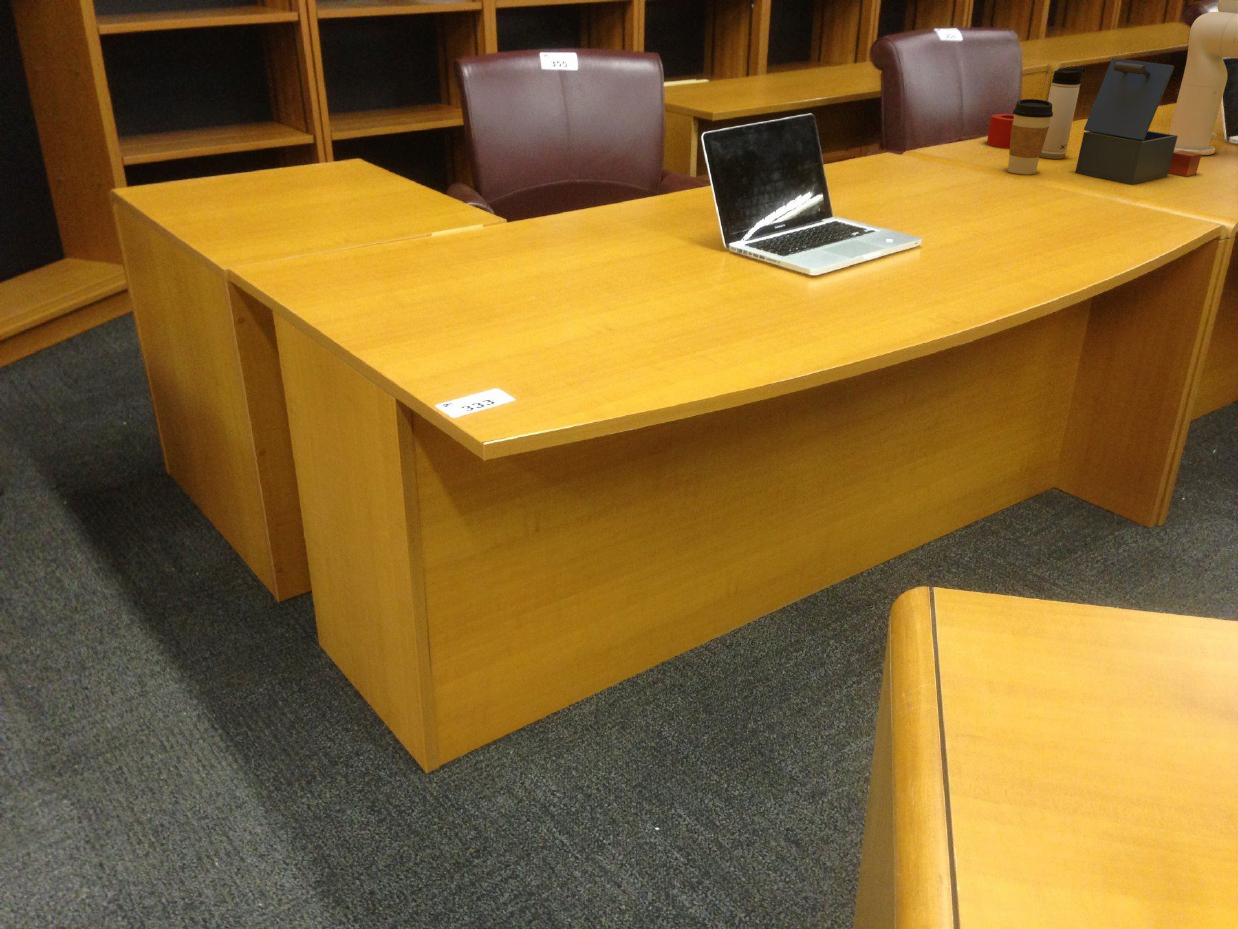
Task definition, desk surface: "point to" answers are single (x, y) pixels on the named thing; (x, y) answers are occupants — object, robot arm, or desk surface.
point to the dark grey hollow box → (1126, 157)
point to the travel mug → (1061, 111)
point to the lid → (1128, 98)
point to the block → (1184, 163)
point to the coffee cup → (1028, 135)
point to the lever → (1000, 130)
